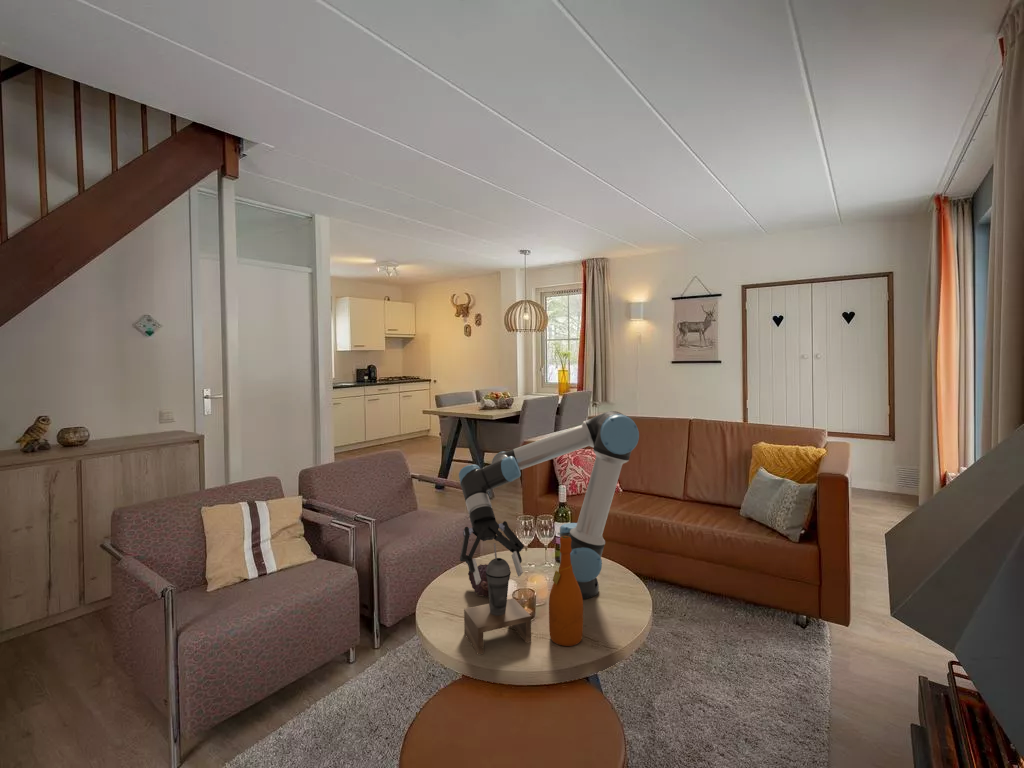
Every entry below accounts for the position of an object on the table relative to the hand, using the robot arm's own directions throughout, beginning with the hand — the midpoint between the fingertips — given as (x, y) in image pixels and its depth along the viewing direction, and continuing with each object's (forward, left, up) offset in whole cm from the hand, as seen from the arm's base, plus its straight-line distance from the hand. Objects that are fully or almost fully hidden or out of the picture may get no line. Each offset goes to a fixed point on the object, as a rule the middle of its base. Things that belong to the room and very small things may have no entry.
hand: (499, 578), depth 145 cm
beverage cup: (0, -3, -11) cm, 11 cm away
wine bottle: (-18, +6, -19) cm, 27 cm away
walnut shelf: (0, -3, -18) cm, 19 cm away
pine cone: (-7, -30, -19) cm, 36 cm away
